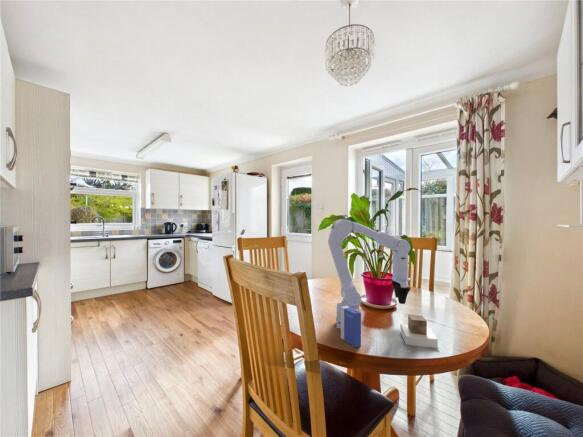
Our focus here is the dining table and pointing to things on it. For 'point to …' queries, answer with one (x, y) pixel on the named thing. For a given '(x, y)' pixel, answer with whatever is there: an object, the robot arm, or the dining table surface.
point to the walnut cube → (417, 324)
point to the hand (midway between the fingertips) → (400, 300)
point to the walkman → (351, 326)
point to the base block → (418, 337)
